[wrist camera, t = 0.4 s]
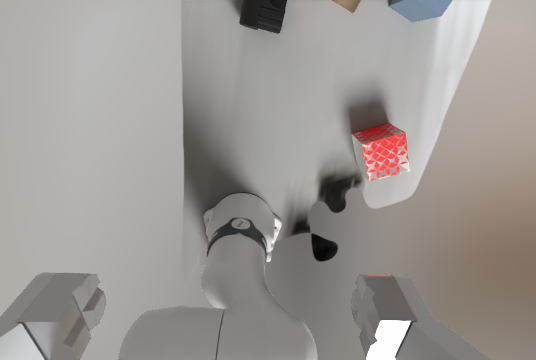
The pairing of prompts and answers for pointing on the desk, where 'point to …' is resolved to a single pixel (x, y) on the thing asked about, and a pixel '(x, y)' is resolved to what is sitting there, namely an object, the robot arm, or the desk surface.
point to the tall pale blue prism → (420, 8)
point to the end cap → (263, 14)
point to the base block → (348, 4)
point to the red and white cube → (381, 151)
